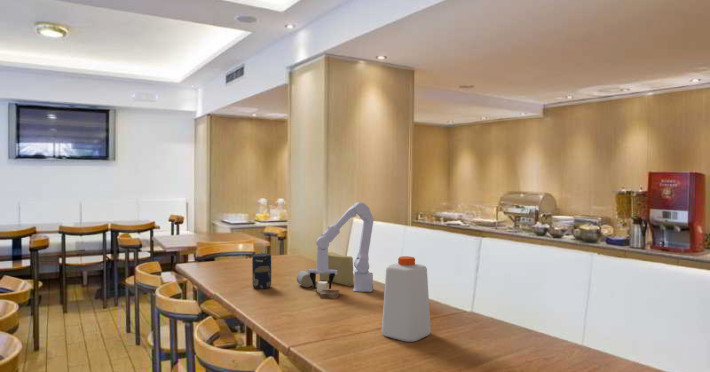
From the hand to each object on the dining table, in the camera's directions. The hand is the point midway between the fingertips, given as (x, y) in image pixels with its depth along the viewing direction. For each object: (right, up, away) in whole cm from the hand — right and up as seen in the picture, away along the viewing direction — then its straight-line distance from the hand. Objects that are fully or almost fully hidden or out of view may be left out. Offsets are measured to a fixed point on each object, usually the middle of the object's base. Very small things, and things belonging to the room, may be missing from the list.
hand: (322, 288), depth 237 cm
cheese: (+7, -1, +20) cm, 22 cm away
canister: (-31, -1, +7) cm, 32 cm away
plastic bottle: (+35, -3, -64) cm, 73 cm away
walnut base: (+4, -2, -9) cm, 10 cm away
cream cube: (0, -2, 0) cm, 2 cm away
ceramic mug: (-8, -1, +11) cm, 14 cm away
